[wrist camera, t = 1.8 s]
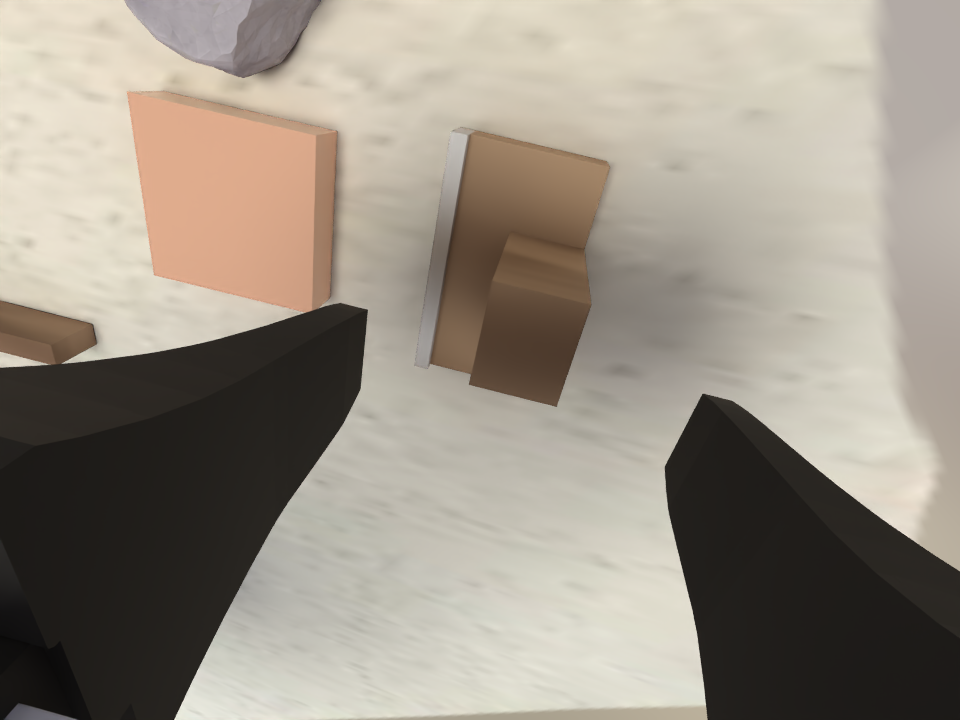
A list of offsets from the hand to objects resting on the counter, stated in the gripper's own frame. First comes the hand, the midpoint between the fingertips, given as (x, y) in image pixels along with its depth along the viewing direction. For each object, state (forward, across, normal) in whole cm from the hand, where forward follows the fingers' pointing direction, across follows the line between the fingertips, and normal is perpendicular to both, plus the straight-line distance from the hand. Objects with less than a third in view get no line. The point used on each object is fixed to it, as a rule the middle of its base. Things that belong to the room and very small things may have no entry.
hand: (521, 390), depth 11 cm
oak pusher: (+8, +1, 0) cm, 8 cm away
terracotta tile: (+8, +10, 0) cm, 13 cm away
